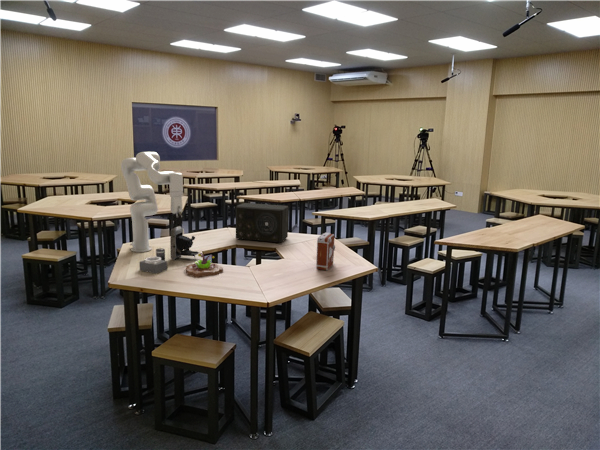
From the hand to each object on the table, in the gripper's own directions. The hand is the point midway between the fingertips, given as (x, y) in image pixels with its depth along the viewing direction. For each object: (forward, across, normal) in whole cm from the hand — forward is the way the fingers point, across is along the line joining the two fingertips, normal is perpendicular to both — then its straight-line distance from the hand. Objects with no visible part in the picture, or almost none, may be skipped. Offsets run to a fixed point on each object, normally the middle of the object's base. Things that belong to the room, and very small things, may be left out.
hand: (177, 222), depth 265 cm
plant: (+25, +24, +8) cm, 35 cm away
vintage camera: (+24, -5, +6) cm, 25 cm away
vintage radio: (+24, -32, +68) cm, 79 cm away
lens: (+24, -2, -10) cm, 26 cm away
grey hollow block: (+24, +11, -17) cm, 31 cm away
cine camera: (+25, +44, +78) cm, 93 cm away
